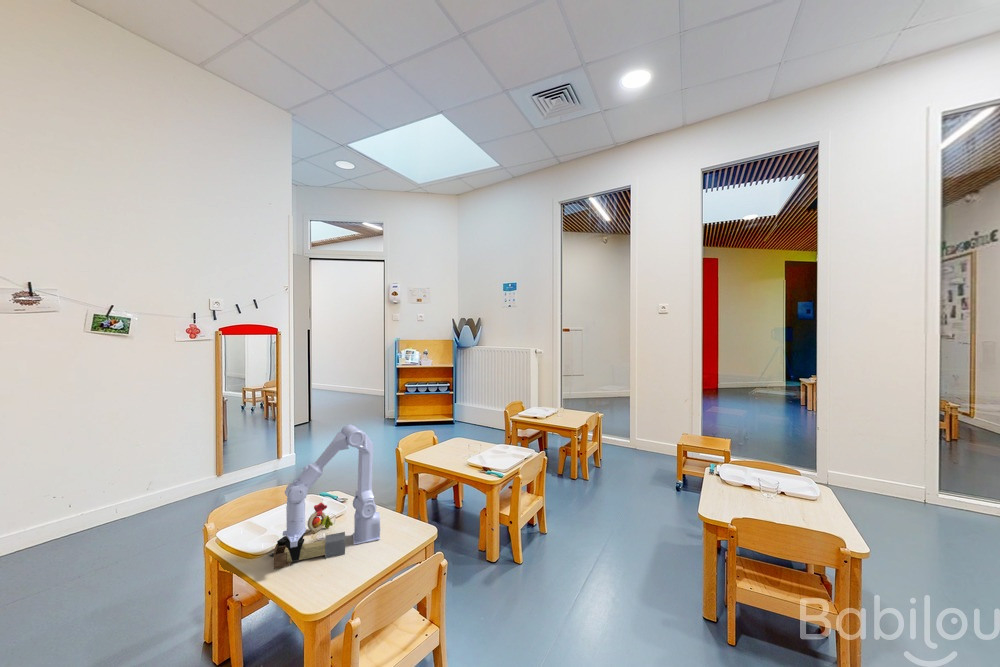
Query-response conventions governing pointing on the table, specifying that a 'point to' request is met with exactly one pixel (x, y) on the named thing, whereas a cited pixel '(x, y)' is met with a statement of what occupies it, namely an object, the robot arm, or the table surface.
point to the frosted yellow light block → (308, 551)
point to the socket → (280, 557)
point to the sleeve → (335, 545)
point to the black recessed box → (280, 543)
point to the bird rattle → (318, 523)
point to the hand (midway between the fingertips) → (296, 556)
